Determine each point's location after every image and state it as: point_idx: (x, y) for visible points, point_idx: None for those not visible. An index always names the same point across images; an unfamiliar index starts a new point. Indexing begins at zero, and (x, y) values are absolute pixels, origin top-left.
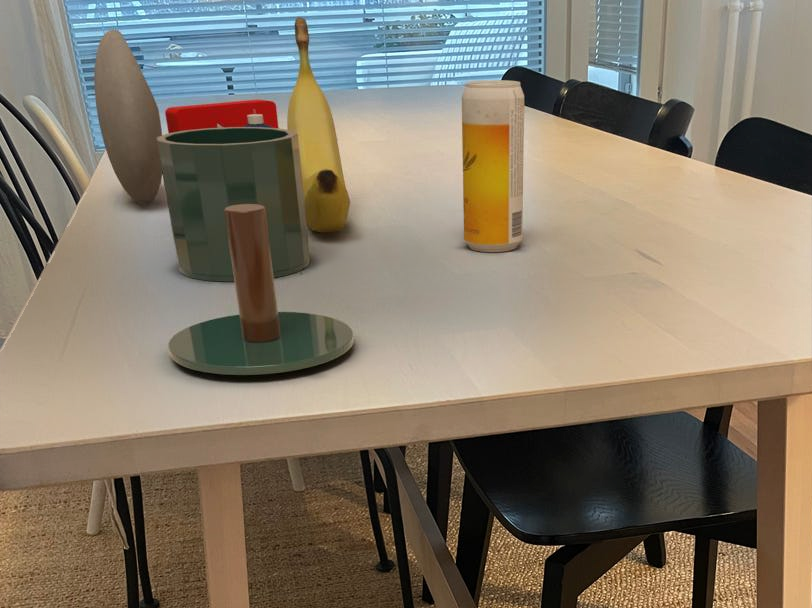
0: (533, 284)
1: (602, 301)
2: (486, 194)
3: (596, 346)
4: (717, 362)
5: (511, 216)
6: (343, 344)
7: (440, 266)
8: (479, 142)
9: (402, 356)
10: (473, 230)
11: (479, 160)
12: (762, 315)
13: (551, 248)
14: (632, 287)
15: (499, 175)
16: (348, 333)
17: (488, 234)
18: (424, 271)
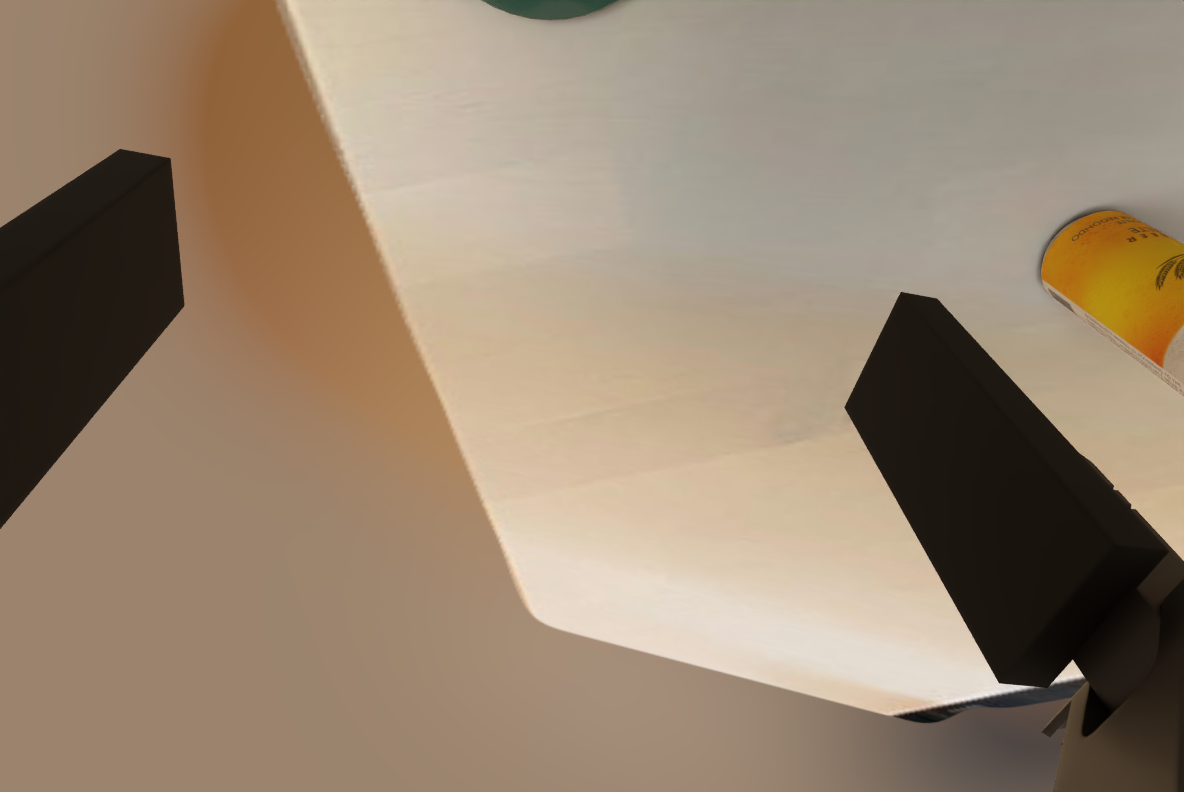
0: (836, 293)
1: (729, 367)
2: (1099, 277)
3: (542, 337)
4: (478, 442)
5: (1067, 301)
6: (499, 6)
7: (993, 161)
8: (1167, 304)
9: (518, 93)
10: (1084, 232)
11: (1146, 290)
12: (638, 510)
13: (1031, 335)
14: (784, 408)
15: (1108, 312)
16: (554, 12)
17: (1059, 254)
18: (971, 133)
